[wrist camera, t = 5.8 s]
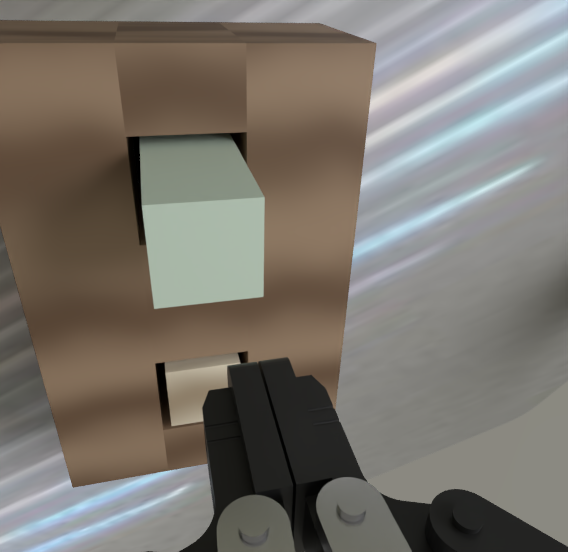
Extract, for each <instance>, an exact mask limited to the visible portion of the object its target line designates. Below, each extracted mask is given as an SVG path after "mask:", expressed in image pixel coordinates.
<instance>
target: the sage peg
mask: <svg viewBox="0 0 568 552" xmlns="http://www.w3.org/2000/svg"><path fill="white" fill-rule="evenodd" d="M139 139H140V169H141V198H142V212H143V220H144V228H145V237H146V245H147V253H148V262H149V270H150V279H151V287H152V295H153V304H154V309H158V308H167V307H176V306H185V305H194V304H203V303H212V302H221V301H231V300H240V299H249V298H258V297H263V295H264V212H265V197H264V195H263V193H262V191H261V190H260V188H259V186H258V184H257V182H256V181H255V179H254V177H253V175H252V173H251V171H250V170H249V168H248V166H247V164H246V162H245V161H244V159H243V157H242V155H241V153H240V151H239V150H238V148H237V146H236V144H235V142H234V140H233V139H232V137H231V135H230V133H211V134H185V135H158V136H139Z"/></svg>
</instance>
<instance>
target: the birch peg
mask: <svg viewBox="0 0 568 552" xmlns="http://www.w3.org/2000/svg"><path fill="white" fill-rule="evenodd" d="M235 364H240V360H239V356H238V353H230V354H223V355H215V356H208V357H200V358H192V359H185V360H177V361H170V362H165V373H166V382H167V391H168V399H169V408H170V417H171V425H172V426H177V425H183V424H189V423H196V422H202V421H203V412H202V407H203V404H204V402H205V399H206V396H207V394H208V391H209V390H214V389H221V388H228V379H227V366H228V365H235Z"/></svg>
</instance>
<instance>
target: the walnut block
mask: <svg viewBox="0 0 568 552" xmlns="http://www.w3.org/2000/svg"><path fill="white" fill-rule="evenodd" d="M375 52H376V43H374V42H371V41H368V40H365V39H363V38H360V37H357V36H354V35H351V34H348V33H345V32H343V31H340V30H337V29H334V28H331V27H328V26H326V25H323V24H320V23H228V22H122V21H17V20H0V227H1V231H2V234H3V238H4V242H5V245H6V249H7V252H8V256H9V260H10V263H11V267H12V270H13V274H14V278H15V281H16V285H17V288H18V292H19V296H20V299H21V303H22V306H23V310H24V314H25V317H26V321H27V324H28V328H29V332H30V335H31V339H32V342H33V346H34V350H35V353H36V357H37V360H38V364H39V368H40V371H41V375H42V378H43V382H44V386H45V389H46V393H47V396H48V400H49V404H50V407H51V411H52V414H53V418H54V422H55V425H56V429H57V432H58V436H59V440H60V443H61V447H62V450H63V454H64V458H65V461H66V465H67V468H68V472H69V476H70V479H71V483H72V486H73V487H79V486H84V485H90V484H96V483H101V482H107V481H112V480H118V479H124V478H129V477H135V476H140V475H146V474H152V473H157V472H163V471H169V470H174V469H180V468H185V467H191V466H197V465H202V464H208V463H207V455H206V446H205V435H204V423H203V421H202V422H196V423H189V424H183V425H177V426H172V425H171V417H170V408H169V399H168V391H167V382H166V373H165V362H170V361H177V360H185V359H192V358H200V357H208V356H215V355H223V354H230V353H238V356H239V360H240V364H242V363H249V362H257V363H258V361H263V360H270V359H277V358H284V357H288V358H289V360H290V362H291V365H292V368H293V371H294V373H295V376H296V377H301V376H307V375H312V376H313V377H314V378H315V379H316V380H317V381H318V382H320V383H321V384H322V385H323V386H324V387H325V388H326V390H327V392H328V395H329V397H330V399H331V402H332V404H333V408H334V409H335V407H336V398H337V389H338V380H339V371H340V362H341V353H342V345H343V336H344V327H345V318H346V309H347V300H348V291H349V282H350V274H351V265H352V256H353V247H354V238H355V229H356V220H357V211H358V202H359V194H360V185H361V176H362V167H363V158H364V149H365V140H366V131H367V123H368V114H369V105H370V96H371V87H372V78H373V69H374V60H375ZM211 133H230V135H231V137H232V139H233V140H234V142H235V144H236V146H237V148H238V150H239V151H240V153H241V155H242V157H243V159H244V161H245V162H246V164H247V166H248V168H249V170H250V171H251V173H252V175H253V177H254V179H255V181H256V182H257V184H258V186H259V188H260V190H261V191H262V193H263V195H264V197H265V212H264V295H263V297H258V298H249V299H240V300H231V301H221V302H212V303H203V304H194V305H185V306H176V307H167V308H158V309H154V304H153V295H152V287H151V279H150V270H149V262H148V253H147V245H146V237H145V228H144V220H143V212H142V198H141V183H138V176H137V168H136V160H135V152H134V143H133V136H158V135H185V134H211Z"/></svg>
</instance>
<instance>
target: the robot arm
mask: <svg viewBox="0 0 568 552" xmlns="http://www.w3.org/2000/svg"><path fill="white" fill-rule="evenodd" d="M227 379H228V388H221V389H214V390H209V391H208V394H207V396H206V399H205V402H204V404H203V407H202V412H203V423H204V435H205V446H206V455H207V463H208V470H209V478H210V485H211V493H212V500H213V508H214V516H213V520H212V522H211V524H210V526H209V527H208V529H207V530H206V532H205V533H204V534H203V535H202V536H201V537H200V538H199V539H198V540H197V541H196V542H194V543H193V544H191V545H190V546H188V547H186V548H185V549H183V550H181V551H179V552H568V547H567V546H565V545H564V544H562V543H560V542H558V541H557V540H555V539H553V538H552V537H550V536H548V535H546V534H544V533H543V532H541V531H539V530H538V529H536V528H534V527H533V526H531V525H529V524H527V523H526V522H524V521H522V520H520V519H519V518H517V517H515V516H513V515H512V514H510V513H508V512H506V511H505V510H503V509H501V508H500V507H498V506H496V505H494V504H493V503H491V502H489V501H487V500H486V499H484V498H482V497H481V496H479V495H477V494H475V493H472V492H469V491H465V490H460V489H452V490H447V491H444V492H442V493H440V494H439V495H437V496H436V497H435V498H434V500H433V501H432V504H425V503H417V502H407V501H400V500H396V499H392V498H389V497H387V496H385V495H383V494H381V493H380V492H379V491H378V490H377V489H376V488H375V487H374V486H372V485H371V484H369V483H368V482H367V480H366V479H365V478H364V476H363V474H362V472H361V470H360V467H359V465H358V463H357V460H356V458H355V456H354V453H353V451H352V449H351V446H350V444H349V442H348V439H347V437H346V435H345V432H344V430H343V428H342V425H341V423H340V422H339V418H338V416H337V413H336V411H335V409H334V408H333V404H332V402H331V399H330V397H329V395H328V392H327V390H326V388H325V387H324V386H323V385H322V384H321V383H320V382H318V381H317V380H316V379H315V378H314V377H313V376H312V375H307V376H301V377H296V376H295V373H294V371H293V368H292V365H291V362H290V360H289V358H288V357H284V358H277V359H270V360H263V361H258V363H257V362H249V363H242V364H235V365H228V366H227ZM147 552H151V551H147Z"/></svg>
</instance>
